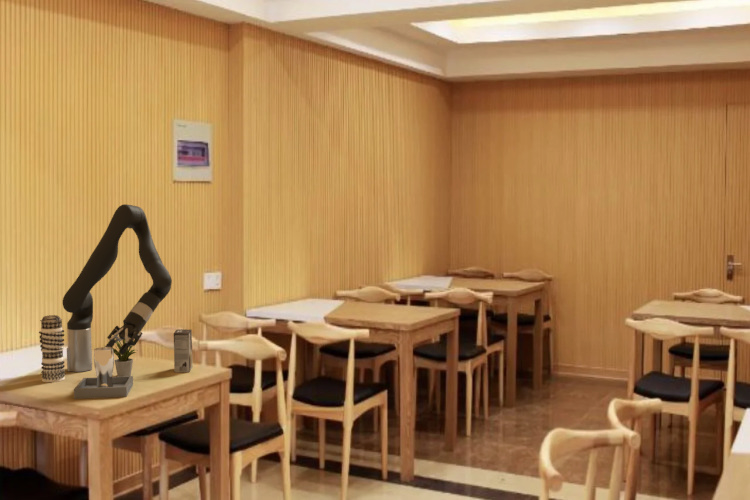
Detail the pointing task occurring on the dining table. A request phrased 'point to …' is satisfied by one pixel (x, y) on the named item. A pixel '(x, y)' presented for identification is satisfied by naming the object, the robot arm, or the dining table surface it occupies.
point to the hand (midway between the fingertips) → (113, 351)
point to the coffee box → (183, 350)
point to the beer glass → (104, 366)
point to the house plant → (123, 361)
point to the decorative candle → (52, 348)
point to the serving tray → (103, 388)
